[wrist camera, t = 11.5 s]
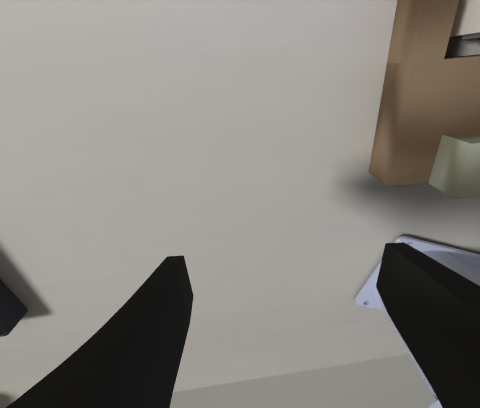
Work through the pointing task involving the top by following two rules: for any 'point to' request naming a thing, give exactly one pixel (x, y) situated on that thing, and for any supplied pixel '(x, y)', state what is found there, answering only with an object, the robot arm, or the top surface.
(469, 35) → the block
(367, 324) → the top surface
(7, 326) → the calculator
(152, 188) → the top surface
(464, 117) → the brown slotted block base
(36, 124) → the top surface
